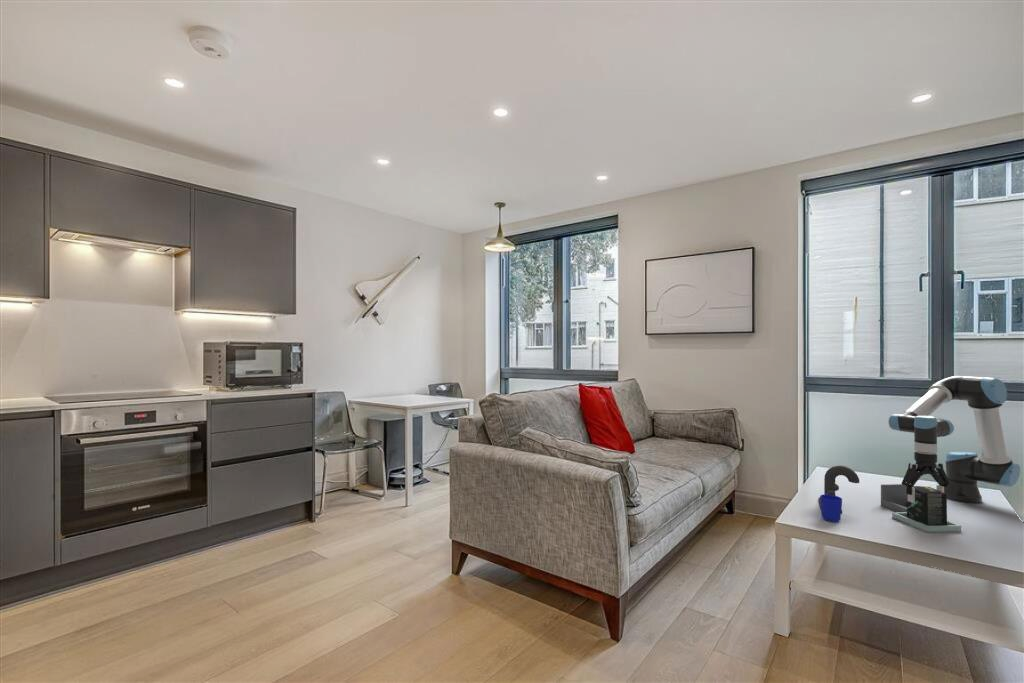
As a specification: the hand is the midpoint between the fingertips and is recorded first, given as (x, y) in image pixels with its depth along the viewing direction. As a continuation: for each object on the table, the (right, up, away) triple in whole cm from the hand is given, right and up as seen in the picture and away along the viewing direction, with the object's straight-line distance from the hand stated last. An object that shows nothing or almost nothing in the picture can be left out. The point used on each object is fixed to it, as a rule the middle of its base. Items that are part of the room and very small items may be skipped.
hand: (925, 501), depth 209 cm
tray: (0, -10, 0) cm, 10 cm away
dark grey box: (0, -9, 0) cm, 10 cm away
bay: (+7, -10, +18) cm, 21 cm away
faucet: (-23, -10, +21) cm, 33 cm away
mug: (-37, -10, +7) cm, 39 cm away
